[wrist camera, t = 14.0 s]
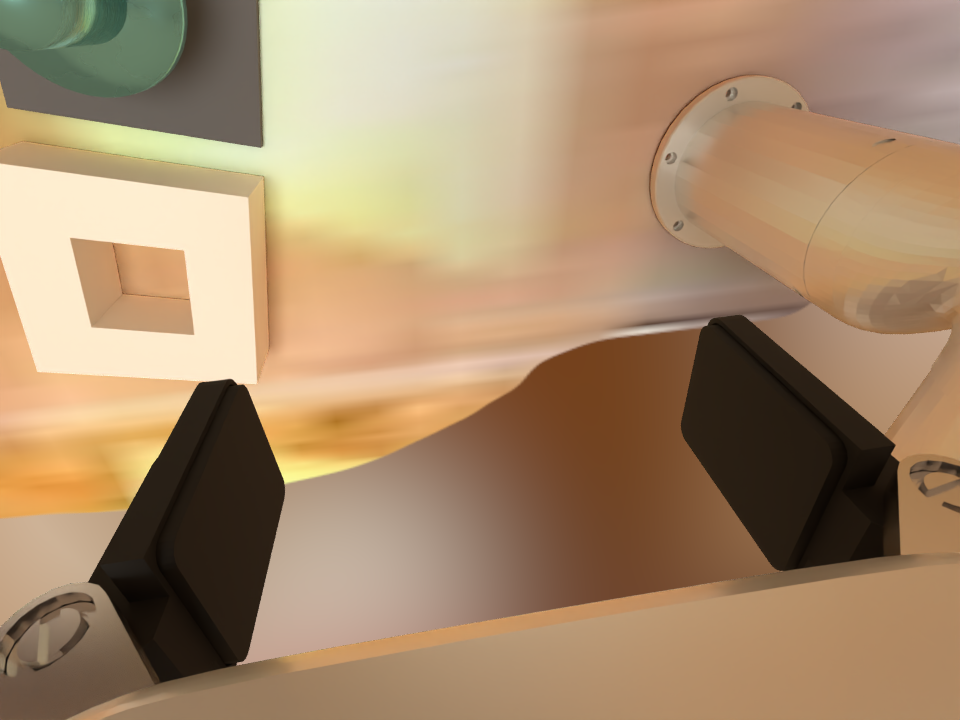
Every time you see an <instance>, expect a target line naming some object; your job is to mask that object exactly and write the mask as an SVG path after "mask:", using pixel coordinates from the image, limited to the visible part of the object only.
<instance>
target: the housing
mask: <svg viewBox="0 0 960 720" xmlns="http://www.w3.org/2000/svg"><path fill="white" fill-rule="evenodd" d="M113 243H122V244H131V245H140V246H149V247H158V248H167V249H176V250H184V252H185V260H186V269H187V277H188V285H189V294H190V300H185V299H174V298H163V297H151V296H140V295H129V294H123V293H122V288H121V283H120V278H119V273H118V268H117V263H116V258H115V252H114V247H113ZM0 256H1V259H2V262H3V266H4V269H5V272H6V275H7V278H8V281H9V284H10V287H11V290H12V294H13V297H14V300H15V303H16V306H17V309H18V312H19V315H20V319H21V322H22V325H23V328H24V331H25V334H26V337H27V340H28V343H29V347H30V350H31V353H32V356H33V359H34V362H35V365H36V368H37V372H50V373H67V374H85V375H103V376H121V377H139V378H156V379H174V380H192V381H217V380H225V379H233V380H234V381H235V382H236V383H245V384H257V383H258V380H259V377H260V374H261V371H262V368H263V366H264V363H265V360H266V357H267V354H268V351H269V327H268V296H267V264H266V232H265V200H264V176H257V175H250V174H243V173H237V172H230V171H223V170H216V169H209V168H203V167H196V166H189V165H182V164H175V163H168V162H162V161H155V160H148V159H141V158H134V157H128V156H121V155H114V154H107V153H100V152H93V151H87V150H80V149H73V148H66V147H59V146H53V145H46V144H39V143H32V142H25V141H22V142H19V143H16V144H13V145H10V146H7V147H4V148H1V149H0Z"/></svg>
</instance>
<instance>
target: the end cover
mask: <svg viewBox="0 0 960 720" xmlns="http://www.w3.org/2000/svg"><path fill="white" fill-rule="evenodd" d="M187 26H188V23H187V8H186V1H185V0H0V48H1V49H5V50H8V51H9V52H10V53H11V54H12V55H14V56H15V57H16V58H17V59H18V60H19V61H21V62H22V63H23V64H24V65H26V66H27V67H29V68H30V69H31V70H33V71H34V72H36V73H37V74H39V75H40V76H42V77H44V78H46V79H47V80H49V81H51V82H53V83H55V84H57V85H59V86H61V87H64V88H66V89H69V90H72V91H75V92H77V93H81V94H85V95H90V96H95V97H105V98H111V97H123V96H129V95H133V94H136V93H139V92H142V91H145V90H148V89H150V88H152V87H154V86H156V85H157V84H159V83H160V82H161V81H163V80H164V79H165V78H166V77H167V76H168V75H169V74H170V73H171V72H172V71H173V69H174V68H175V66H176V65H177V63H178V61H179V59H180V57H181V55H182V52H183V50H184V46H185V41H186V36H187Z"/></svg>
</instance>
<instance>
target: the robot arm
mask: <svg viewBox="0 0 960 720" xmlns="http://www.w3.org/2000/svg"><path fill="white" fill-rule="evenodd" d="M726 92H727V94H726ZM667 154H668V157H667V158H666V156H667ZM650 193H651V200H652V205H653V208H654V211H655V214H656V216H657V218H658V220H659V221H660V223H661V224H662V226H663V227H664V228H665V229H666V230H667V231H668V232H669V233H670V234H671V235H672V236H674V237H675V238H677V239H678V240H680V241H681V242H683V243H686V244H688V245H691V246H693V247H700V248H720V247H724V246H727V247H728V248H730V249H731V250H733V251H734V252H736V253H737V254H739V255H740V256H742V257H743V258H745V259H746V260H748V261H749V262H751V263H752V264H754V265H755V266H757V267H758V268H760V269H761V270H763V271H764V272H766V273H768V274H769V275H771V276H772V277H774V278H775V279H777V280H778V281H780V282H781V283H783V284H784V285H786V286H787V287H789V288H790V289H792V290H793V291H795V292H796V293H798V294H799V295H801V296H802V297H804V298H805V299H807V300H808V301H810V302H812V303H813V304H815V305H816V306H818V307H819V308H821V309H822V310H824V311H825V312H827V313H828V314H830V315H831V316H833V317H834V318H836V319H838V320H840V321H842V322H844V323H846V324H848V325H850V326H853V327H855V328H858V329H861V330H865V331H870V332H876V333H881V334H914V333H925V332H935V331H941V330H948V329H952V332H951V335H950V338H949V340H948V342H947V344H946V345H945V347H944V348H943V350H942V352H941V353H940V355H939V356H938V358H937V359H936V361H935V362H934V364H933V365H932V368H931V371H930V372H929V373H928V375H927V376H926V378H925V379H924V380H923V382H922V383H921V385H920V386H919V388H918V389H917V390H916V392H915V393H914V394H913V396H912V397H911V398H910V400H909V401H908V403H907V404H906V405H905V407H904V408H903V410H902V411H901V413H900V414H899V415H898V417H897V418H896V420H895V421H894V422H893V424H892V425H891V426H890V428H889V429H888V431H887V432H886V433H885V435H884V434H882V433H881V432H880V431H879V430H878V429H876V428H875V427H874V426H873V425H872V424H871V423H869V422H868V421H867V420H866V419H865V418H864V417H862V416H861V415H860V414H859V413H858V412H856V411H855V410H854V409H853V408H852V407H851V406H849V405H848V404H847V403H846V402H845V401H844V400H842V399H841V398H840V397H839V396H838V395H836V394H835V393H834V392H833V391H832V390H831V389H829V388H828V387H827V386H826V385H825V384H823V383H822V382H821V381H820V380H819V379H817V378H816V377H815V376H814V375H813V374H812V373H811V372H809V371H808V370H807V369H806V368H804V367H803V366H802V365H801V364H800V363H799V362H798V361H796V360H795V359H794V358H793V357H792V356H791V355H789V354H788V353H787V352H786V351H784V350H783V349H782V348H781V347H780V346H778V345H777V344H776V343H775V342H774V341H773V340H772V339H770V338H769V337H768V336H767V335H766V334H764V333H763V332H762V331H761V330H760V329H759V328H757V327H756V326H755V325H754V324H753V323H752V322H750V321H749V320H748V319H747V318H746V317H744V316H742V315H735V316H727V317H719V318H713V319H711V320H710V322H709V323H708V326H705V327H703V328H702V330H701V332H700V336H699V341H698V346H697V351H696V355H695V360H694V365H693V369H692V374H691V379H690V384H689V388H688V393H687V398H686V402H685V407H684V412H683V416H682V421H681V430H682V434H683V437H684V439H685V441H686V442H687V444H688V445H689V446H690V448H691V449H692V451H693V452H694V454H695V455H696V457H697V458H698V459H699V461H700V462H701V464H702V465H703V467H704V468H705V470H706V471H707V473H708V474H709V475H710V477H711V478H712V480H713V481H714V483H715V484H716V485H717V487H718V488H719V490H720V491H721V493H722V494H723V496H724V497H725V499H726V500H727V501H728V503H729V504H730V506H731V507H732V509H733V510H734V511H735V513H736V515H737V516H738V517H739V519H740V520H741V522H742V523H743V525H744V526H745V527H746V529H747V530H748V532H749V533H750V535H751V536H752V538H753V539H754V541H755V542H756V544H757V545H758V546H759V548H760V549H761V551H762V552H763V554H764V555H765V557H766V558H767V559H768V561H769V562H770V564H771V565H772V566H773V567H774V568H775V569H777V570H780V571H783V572H777V573H770V574H764V575H758V576H752V577H746V578H740V579H734V580H727V581H721V582H715V583H709V584H703V585H697V586H691V587H685V588H678V589H673V590H666V591H660V592H654V593H648V594H642V595H636V596H630V597H624V598H618V599H612V600H606V601H601V602H594V603H588V604H582V605H576V606H571V607H565V608H559V609H553V610H547V611H541V612H536V613H530V614H524V615H518V616H512V617H506V618H500V619H494V620H489V621H483V622H476V623H470V624H465V625H459V626H453V627H447V628H442V629H436V630H430V631H425V632H419V633H413V634H407V635H402V636H396V637H390V638H384V639H379V640H373V641H367V642H362V643H356V644H350V645H345V646H339V647H333V648H327V649H321V650H317V651H311V652H306V653H300V654H295V655H290V656H285V657H279V658H275V659H269V660H264V661H259V662H253V663H248V664H243V665H238V666H236V665H237V662H242V661H244V660H245V659H246V657H247V654H248V651H249V647H250V643H251V639H252V634H253V630H254V626H255V622H256V617H257V613H258V609H259V604H260V600H261V596H262V592H263V587H264V583H265V579H266V574H267V570H268V566H269V561H270V557H271V552H272V549H273V544H274V540H275V535H276V531H277V527H278V523H279V519H280V514H281V510H282V506H283V502H284V496H285V485H284V480H283V477H282V475H281V472H280V470H279V467H278V465H277V462H276V460H275V457H274V455H273V452H272V450H271V447H270V445H269V442H268V440H267V437H266V435H265V432H264V430H263V427H262V424H261V422H260V419H259V417H258V414H257V412H256V409H255V407H254V404H253V402H252V399H251V397H250V394H249V392H248V390H247V388H246V387H245V385H237V384H236V382H235V381H234V380H233V379H225V380H217V381H209V382H202V383H199V384H198V385H197V387H196V389H195V390H194V392H193V394H192V396H191V398H190V400H189V401H188V403H187V405H186V407H185V409H184V411H183V413H182V414H181V416H180V418H179V420H178V422H177V424H176V425H175V427H174V429H173V431H172V433H171V435H170V436H169V438H168V440H167V442H166V444H165V446H164V447H163V449H162V451H161V453H160V455H159V457H158V458H157V459H156V461H155V462H154V463H153V465H152V466H151V468H150V470H149V472H148V474H147V475H146V477H145V479H144V481H143V483H142V485H141V486H140V488H139V490H138V492H137V494H136V496H135V497H134V499H133V501H132V503H131V505H130V506H129V508H128V510H127V512H126V514H125V516H124V518H123V519H122V521H121V523H120V525H119V527H118V528H117V530H116V532H115V534H114V536H113V538H112V539H111V541H110V543H109V545H108V547H107V549H106V550H105V552H104V554H103V556H102V558H101V560H100V561H99V563H98V565H97V567H96V569H95V570H94V572H93V574H92V576H91V578H90V580H89V581H88V582H82V583H71V584H68V585H64V586H61V587H58V588H55V589H52V590H50V591H48V592H47V593H45V594H43V595H41V596H39V597H37V598H35V599H33V600H32V601H31V602H29V603H28V604H26V605H25V606H24V607H22V608H21V609H20V610H18V611H17V612H16V613H14V614H13V616H12V617H10V618H9V619H8V620H7V621H6V622H5V623H4V624H3V625H2V626H1V627H0V720H960V144H955V143H950V142H946V141H941V140H936V139H932V138H927V137H923V136H918V135H913V134H909V133H904V132H900V131H895V130H891V129H886V128H881V127H877V126H872V125H868V124H863V123H858V122H854V121H849V120H845V119H840V118H836V117H831V116H826V115H822V114H817V113H813V112H810V111H809V108H808V106H807V103H806V101H805V100H804V99H803V97H802V96H801V94H800V93H799V92H798V91H797V90H796V89H795V88H793V87H792V86H791V85H789V84H788V83H787V82H784V81H782V80H779V79H776V78H774V77H768V76H761V75H744V76H740V77H736V78H731V79H728V80H725V81H723V82H721V83H719V84H717V85H714V86H712V87H711V88H709V89H708V90H706V91H705V92H703V93H702V94H700V95H699V96H697V97H696V98H695V99H694V100H693V101H692V102H691V103H690V104H689V105H688V106H686V107H685V108H684V109H683V110H682V112H681V113H680V114H679V115H678V117H677V118H676V119H675V120H674V122H673V123H672V124H671V125H670V127H669V129H668V131H667V132H666V134H665V136H664V138H663V139H662V141H661V143H660V146H659V148H658V151H657V153H656V156H655V159H654V163H653V168H652V172H651V183H650Z"/></svg>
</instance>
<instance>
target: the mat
mask: <svg viewBox="0 0 960 720" xmlns="http://www.w3.org/2000/svg"><path fill="white" fill-rule="evenodd" d="M185 1H186V8H187V23H188V26H187V36H186V41H185V46H184V50H183V52H182V55H181V57H180V59H179V61H178V63H177V65H176V66H175V68H174V69H173V71H172V72H171V73H170V74H169V75H168V76H167V77H166V78H165V79H164V80H163V81H161V82H160V83H159V84H157V85H156V86H154V87H152V88H150V89H148V90H145V91H142V92H139V93H136V94H133V95H129V96H123V97H111V98H105V97H95V96H90V95H85V94H81V93H77V92H75V91H72V90H69V89H66V88H64V87H61V86H59V85H57V84H55V83H53V82H51V81H49V80H47V79H46V78H44V77H42V76H40V75H39V74H37V73H36V72H34V71H33V70H31V69H30V68H29V67H27V66H26V65H24V64H23V63H22V62H21V61H19V60H18V59H17V58H16V57H15V56H14V55H12V54H11V53H10V52H9V51H8V50H5V49H1V48H0V82H1V85H2V89H3V93H4V97H5V100H6V104H7V107H8V108H14V109H21V110H27V111H33V112H40V113H46V114H52V115H58V116H65V117H71V118H77V119H84V120H90V121H96V122H103V123H109V124H115V125H121V126H128V127H134V128H140V129H147V130H153V131H159V132H165V133H172V134H178V135H184V136H191V137H197V138H203V139H209V140H216V141H222V142H228V143H235V144H241V145H247V146H253V147H260V148H261V147H262V146H263V137H262V105H261V73H260V41H259V9H258V0H185Z"/></svg>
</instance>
